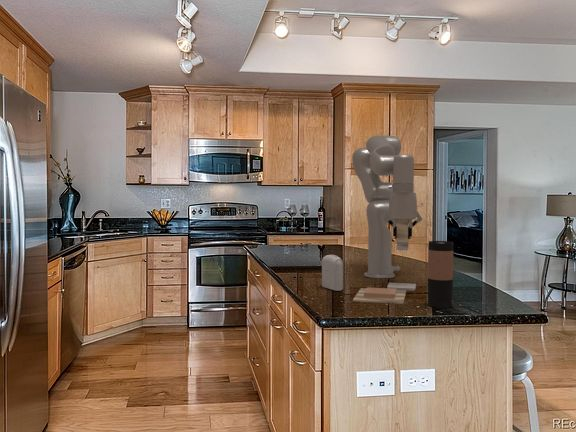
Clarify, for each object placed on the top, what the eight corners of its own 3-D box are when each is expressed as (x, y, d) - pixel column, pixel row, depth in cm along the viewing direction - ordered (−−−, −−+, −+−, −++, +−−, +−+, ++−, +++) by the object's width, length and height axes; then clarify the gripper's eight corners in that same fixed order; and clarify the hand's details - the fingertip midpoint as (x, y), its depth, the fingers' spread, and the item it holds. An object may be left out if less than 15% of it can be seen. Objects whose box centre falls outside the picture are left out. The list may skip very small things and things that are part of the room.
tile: (367, 287, 186) (363, 292, 177) (396, 288, 184) (394, 294, 174) (367, 291, 186) (363, 297, 177) (396, 293, 184) (394, 299, 174)
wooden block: (397, 248, 199) (397, 206, 199) (408, 249, 198) (408, 206, 198) (396, 250, 196) (397, 206, 195) (407, 250, 195) (408, 206, 194)
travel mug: (423, 303, 171) (424, 240, 170) (446, 302, 172) (448, 240, 171) (432, 308, 163) (433, 243, 162) (456, 308, 164) (457, 243, 163)
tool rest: (388, 284, 204) (388, 282, 204) (415, 285, 202) (415, 283, 202) (386, 289, 194) (386, 287, 194) (415, 290, 192) (415, 288, 192)
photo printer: (320, 286, 199) (320, 253, 199) (330, 285, 201) (330, 253, 200) (334, 291, 190) (334, 256, 189) (344, 290, 192) (345, 256, 191)
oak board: (360, 290, 193) (360, 288, 193) (406, 292, 189) (406, 290, 189) (352, 301, 174) (352, 299, 174) (403, 304, 170) (403, 302, 169)
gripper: (379, 188, 195) (378, 238, 195) (426, 188, 190) (425, 240, 191) (381, 188, 202) (380, 237, 203) (426, 188, 198) (426, 238, 198)
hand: (402, 238), depth 197 cm, fingers closed on wooden block, 4 cm apart
